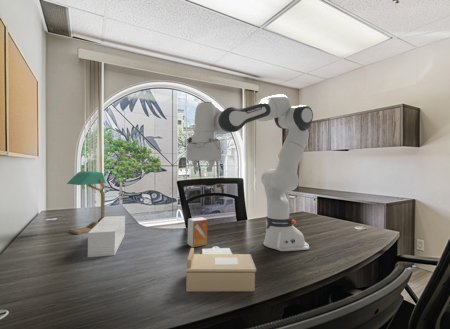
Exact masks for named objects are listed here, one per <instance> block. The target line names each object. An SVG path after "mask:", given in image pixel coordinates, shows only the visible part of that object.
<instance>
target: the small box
mask: <svg viewBox="0 0 450 329" xmlns="http://www.w3.org/2000/svg"><path fill="white" fill-rule="evenodd" d="M207 244H208V219H207V218H205V217H202V216H201V217H200V216H199V217H192V218H188V219H187V245H188V246H190V248H195V247H201V246H207Z"/></svg>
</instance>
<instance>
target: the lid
mask: <svg viewBox="0 0 450 329" xmlns="http://www.w3.org/2000/svg"><path fill="white" fill-rule="evenodd" d="M186 261H187V262H186V266H185V272H186V273H187V272H255V273H256V272H257V268H256V264H255V262H254V260H253V257H252V254H250V253H246V254H245V253H244V254H243V253H241V254H240V253H232V254H202V253H195V247H190V248H189V253H188V255H187V260H186Z"/></svg>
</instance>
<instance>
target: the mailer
mask: <svg viewBox="0 0 450 329" xmlns="http://www.w3.org/2000/svg"><path fill="white" fill-rule="evenodd" d="M185 282H186V283H185V284H186V285H185V286H186V288H185V291H186V292H255V291H256V290H255V289H256V288H255V287H256V284H255V283H256V272H186V281H185Z"/></svg>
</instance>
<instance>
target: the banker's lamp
mask: <svg viewBox="0 0 450 329" xmlns="http://www.w3.org/2000/svg"><path fill="white" fill-rule="evenodd" d="M66 184H67V185H76V186H84V185H87V186H88V187H89V188H91V189H94V190H96V191H98V192H99V193H100V196H101V198H100V201H101V202H100V218H98V220H97V221H93V222H91V223H90V224H88V225H86V226H85V227H80V228H75V229H72V228H71V229H70V233H72V234H75V235H83V234H88V232H89V231H90V230H91V229H92V228H93V227H95V226H96V225H97V224H98V223H99V222H100V221H101V220H102V219H103V218H104V217H105V210H106V209H105V206H106V203H105V201H106V200H105V198H106V197H105V196H106V195H105V192H104V189H105V184H106V179H105V175H104V173H103V172H101V171H89V170H88V171H85V170H84V171H78V172H77V173H76V174H75V175H74V176H73V177H72V178H70V180H69V181H68V182H67V183H66ZM94 185H100V186H101V188H99V187H96V186H94Z"/></svg>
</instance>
